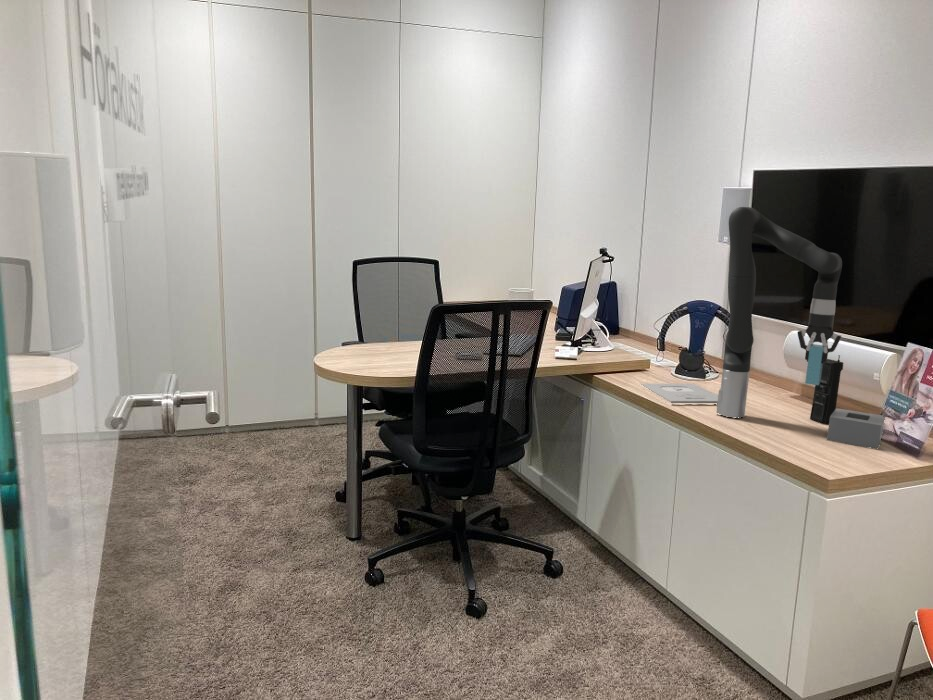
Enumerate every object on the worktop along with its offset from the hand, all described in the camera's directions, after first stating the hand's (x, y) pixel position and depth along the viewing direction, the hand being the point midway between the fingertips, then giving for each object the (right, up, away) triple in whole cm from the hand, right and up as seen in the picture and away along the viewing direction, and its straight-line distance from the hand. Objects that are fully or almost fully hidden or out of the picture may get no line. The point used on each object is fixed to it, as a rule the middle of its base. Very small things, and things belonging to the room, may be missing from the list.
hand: (815, 362), depth 249 cm
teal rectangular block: (0, -7, +1) cm, 7 cm away
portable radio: (+11, -22, +19) cm, 31 cm away
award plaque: (-31, -15, +49) cm, 60 cm away
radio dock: (+11, -26, -4) cm, 28 cm away
